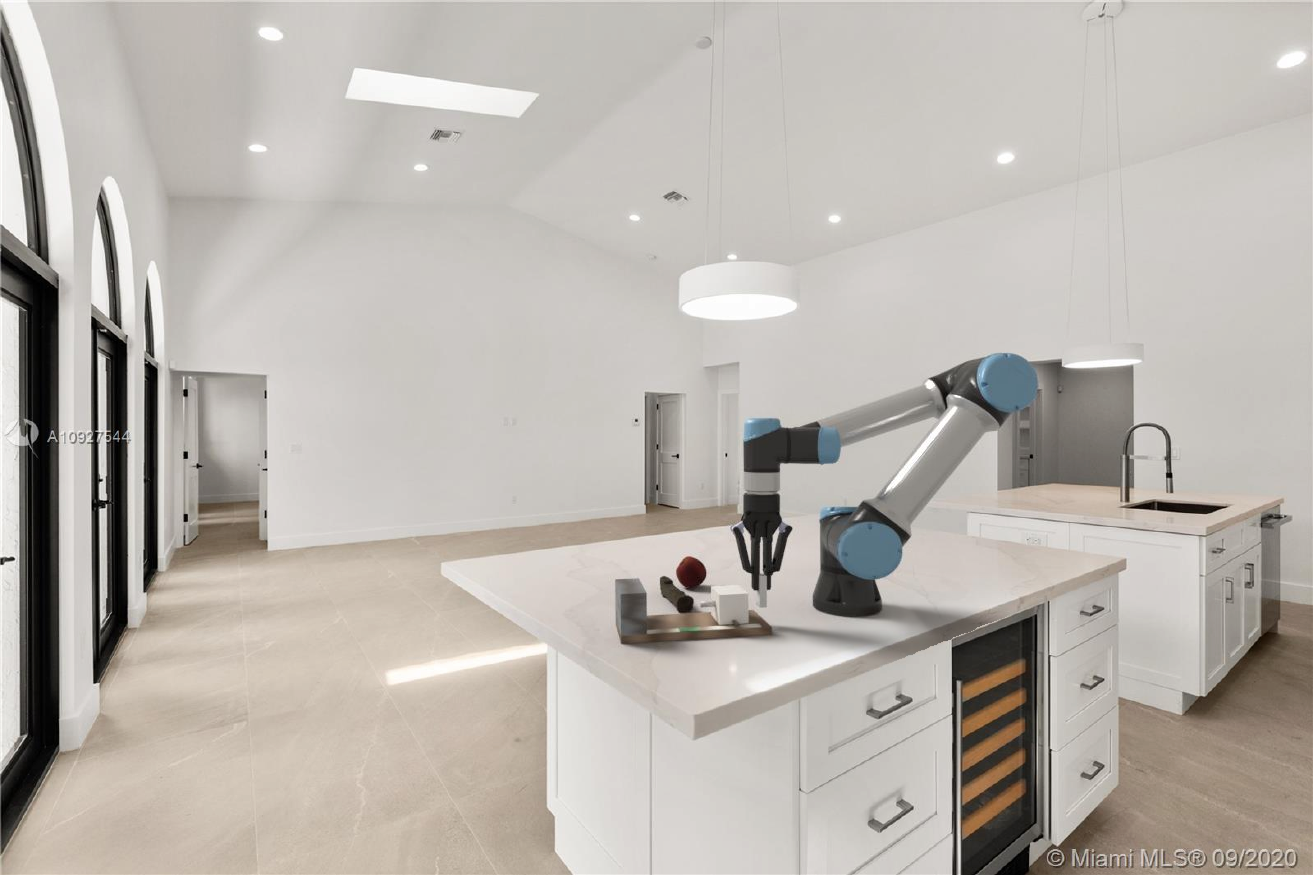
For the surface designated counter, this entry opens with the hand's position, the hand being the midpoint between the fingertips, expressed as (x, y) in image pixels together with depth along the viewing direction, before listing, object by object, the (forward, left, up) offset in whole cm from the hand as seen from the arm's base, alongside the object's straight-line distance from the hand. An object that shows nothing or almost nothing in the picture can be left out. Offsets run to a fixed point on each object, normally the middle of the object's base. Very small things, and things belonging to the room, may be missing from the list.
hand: (761, 605), depth 130 cm
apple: (+8, -33, -4) cm, 34 cm away
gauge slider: (+8, +1, -2) cm, 9 cm away
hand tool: (+15, -21, -5) cm, 26 cm away
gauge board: (+15, 0, -4) cm, 15 cm away
